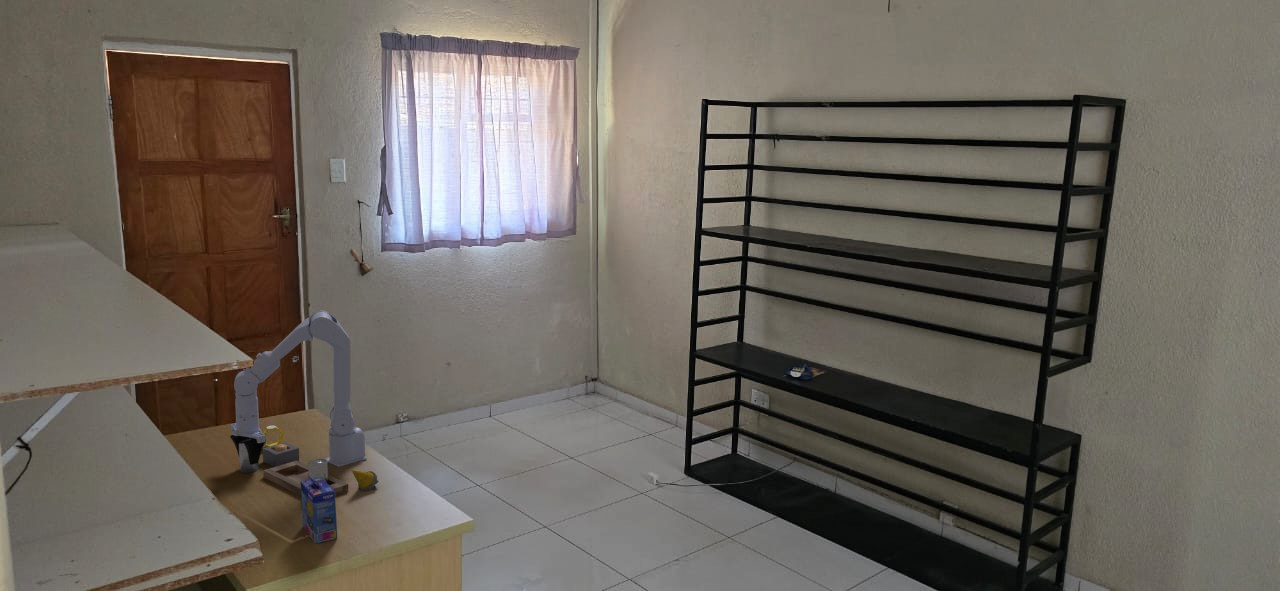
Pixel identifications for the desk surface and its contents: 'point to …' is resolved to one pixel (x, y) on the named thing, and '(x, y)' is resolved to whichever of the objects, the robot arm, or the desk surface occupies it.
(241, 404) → the robot arm
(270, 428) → the watch
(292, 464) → the frame
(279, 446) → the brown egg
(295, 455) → the button housing
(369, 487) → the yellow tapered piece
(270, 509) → the desk surface
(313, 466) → the cylinder
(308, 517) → the ink cartridge box
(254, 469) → the steel billet
